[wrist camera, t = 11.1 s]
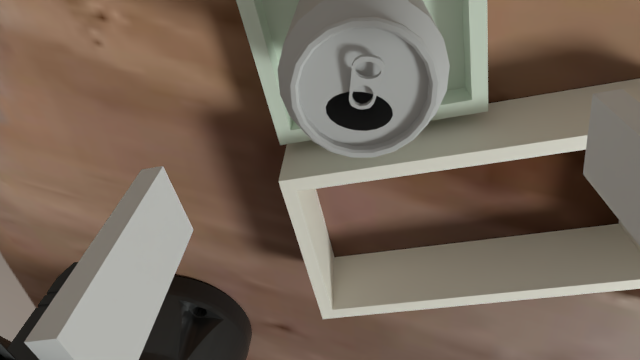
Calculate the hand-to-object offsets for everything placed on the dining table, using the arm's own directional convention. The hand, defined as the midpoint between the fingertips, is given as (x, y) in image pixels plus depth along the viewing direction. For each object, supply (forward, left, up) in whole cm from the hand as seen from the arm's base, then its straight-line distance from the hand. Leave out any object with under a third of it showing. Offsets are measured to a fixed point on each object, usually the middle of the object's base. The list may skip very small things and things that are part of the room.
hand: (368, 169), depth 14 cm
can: (0, 0, -17) cm, 17 cm away
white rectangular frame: (+6, -15, -18) cm, 24 cm away
